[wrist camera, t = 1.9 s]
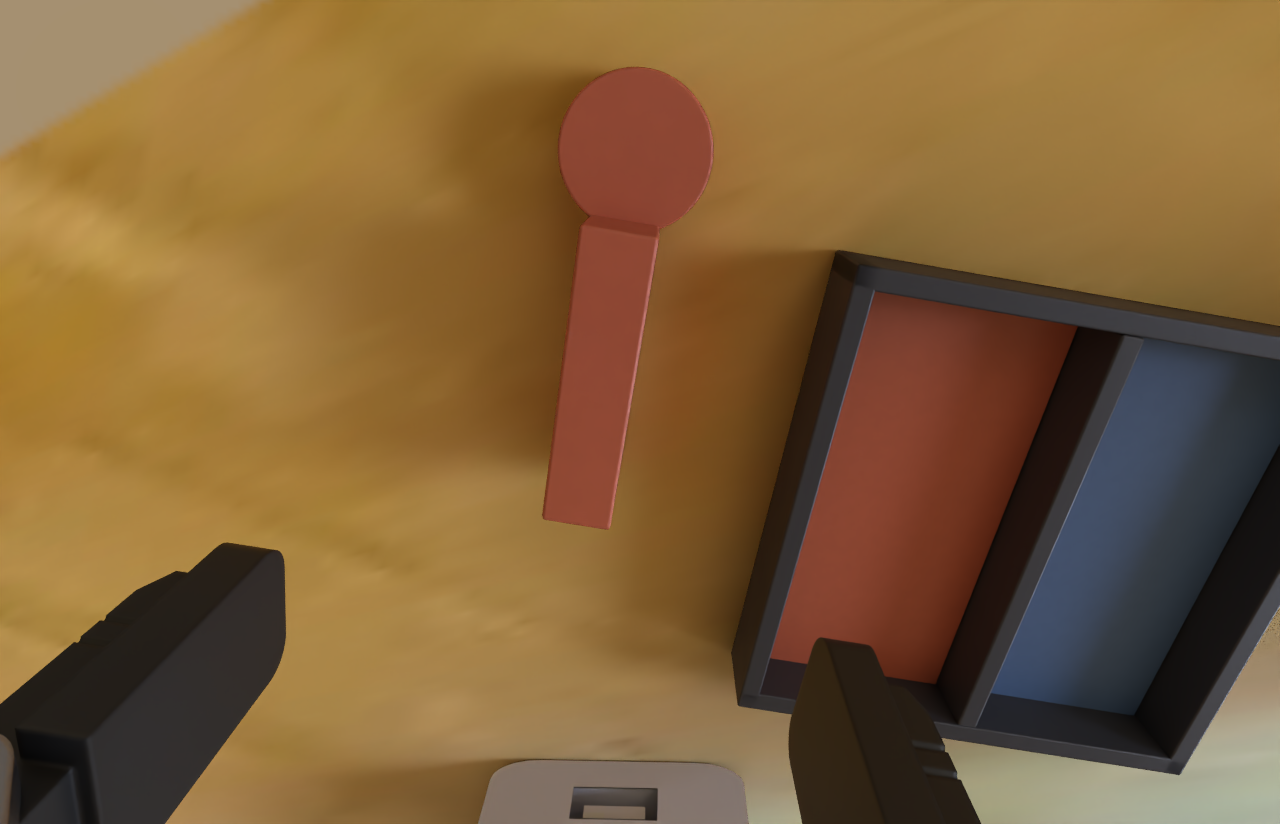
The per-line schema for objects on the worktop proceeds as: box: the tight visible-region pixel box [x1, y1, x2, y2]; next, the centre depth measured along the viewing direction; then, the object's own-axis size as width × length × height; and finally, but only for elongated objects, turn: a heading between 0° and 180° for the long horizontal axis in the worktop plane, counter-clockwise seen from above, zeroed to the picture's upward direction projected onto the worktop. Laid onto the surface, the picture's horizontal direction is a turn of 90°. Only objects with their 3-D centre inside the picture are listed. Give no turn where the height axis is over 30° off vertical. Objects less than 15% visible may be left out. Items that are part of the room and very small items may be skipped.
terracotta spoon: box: [542, 67, 713, 529], centre depth 18 cm, size 4×11×4 cm, turn 171°
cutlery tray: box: [731, 250, 1280, 775], centre depth 21 cm, size 14×14×2 cm
